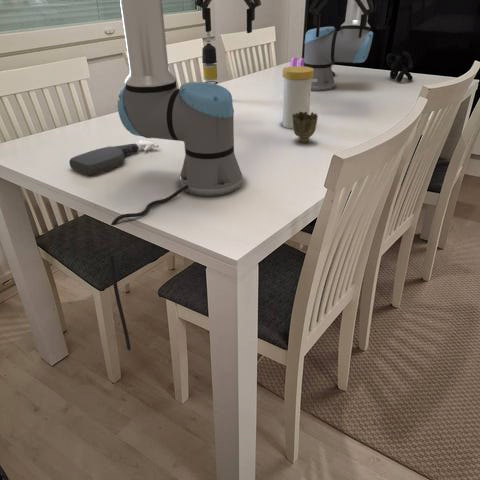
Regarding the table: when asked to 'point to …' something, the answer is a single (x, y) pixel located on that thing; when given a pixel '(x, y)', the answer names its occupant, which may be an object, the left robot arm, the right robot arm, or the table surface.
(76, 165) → the spray bottle
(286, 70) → the lid
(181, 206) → the table surface
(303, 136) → the cup
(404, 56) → the squiggle
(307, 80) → the jar
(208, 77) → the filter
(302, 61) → the bracket
